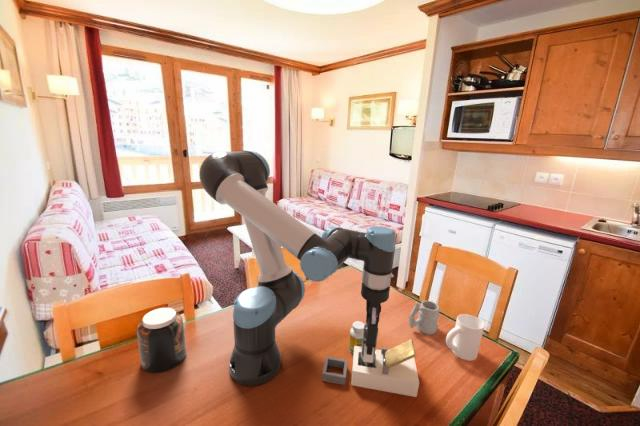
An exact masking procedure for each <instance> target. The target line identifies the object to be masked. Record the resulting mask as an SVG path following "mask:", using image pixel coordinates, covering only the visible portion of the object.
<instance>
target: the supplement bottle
mask: <svg viewBox="0 0 640 426" xmlns="http://www.w3.org/2000/svg"><path fill="white" fill-rule="evenodd" d="M365 325H366V323H364V322H362V321H360V320H357V321H354V322H352V325H351V328H350V330H349V338H348V339H349V340H348V350H349V352H350V353H351V354H352V355H354V346H359V347H362V342H363V333H364V326H365Z"/></svg>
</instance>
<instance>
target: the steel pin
mask: <svg viewBox="0 0 640 426" xmlns="http://www.w3.org/2000/svg"><path fill="white" fill-rule="evenodd" d="M366 334H367V324H366V323H365V326H364V333H363V340H366ZM378 335H379V328H378V329H377V337H376V347H375V348H374V356H373V363H370V362H364V361H363V356H364V347H365V344H364V343H363V342H362V351H361V361H360V366H366V367H372V368H374V361H375V353H376V349H377V343H378Z"/></svg>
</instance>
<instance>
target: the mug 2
mask: <svg viewBox="0 0 640 426" xmlns="http://www.w3.org/2000/svg"><path fill="white" fill-rule="evenodd" d="M484 329H485V324H484V321H483V320H482V319H480V318H478V317H476V316H475V315H471V314H467V313H460V314H459V315H458V316H456V321H455V326H454V327H453V328H451V329H450V330H449V331H448V333H446V334H447V335H446V338H445V344H446V346H447V347H448V349H450V350H451V351H452V353H453V354H454V355H455V356H456V357H458V358H459V359H461V360H464V361H467V362H468V361H469V362H470V361H472V362H473V361H475V360H476V359H477V358H478V355H479V350H480V347H481V342H482V337H483V334H484Z"/></svg>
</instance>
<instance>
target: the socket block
mask: <svg viewBox="0 0 640 426" xmlns="http://www.w3.org/2000/svg"><path fill="white" fill-rule="evenodd" d="M387 350H388V347H386V346H382V347H381V349H377V348H376V353H375V361H374V368H372V367H366V366H360V361H361V351H362V347H359V346H354V354H352V356H353V357H352V370H351V379H350V380H351V384H350V386H353V387H354V386H355V387H360V388H365V389H371V390H376V391H380V392H381V391H382V392H387V393H392V394H398V395H403V396H408V397H414V398H418V397H417V396H418V391H419V385H420V380H419V376H418V370H417V365H416V359H415V357H413V358H411V359H409V360H407V361H404V362H402V363H400V364H398V365H396V366H393V367H391V368H389V367H384V366H383V352H385V351H387Z"/></svg>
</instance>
